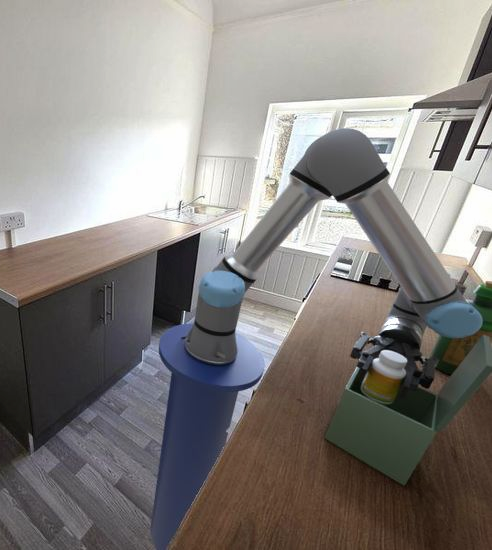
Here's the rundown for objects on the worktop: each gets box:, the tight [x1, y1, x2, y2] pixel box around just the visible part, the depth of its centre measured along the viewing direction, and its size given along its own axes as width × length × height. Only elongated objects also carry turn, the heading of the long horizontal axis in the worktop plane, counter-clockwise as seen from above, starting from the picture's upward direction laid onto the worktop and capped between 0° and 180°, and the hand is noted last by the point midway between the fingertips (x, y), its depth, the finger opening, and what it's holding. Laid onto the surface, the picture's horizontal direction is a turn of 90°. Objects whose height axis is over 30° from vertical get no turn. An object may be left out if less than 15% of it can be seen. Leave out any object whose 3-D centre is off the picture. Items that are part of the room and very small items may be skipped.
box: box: [324, 366, 438, 487], centre depth 61 cm, size 13×13×14 cm
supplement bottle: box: [361, 350, 407, 404], centre depth 59 cm, size 5×5×10 cm
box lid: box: [435, 335, 492, 433], centre depth 51 cm, size 14×13×1 cm
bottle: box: [428, 280, 492, 376], centre depth 84 cm, size 11×11×28 cm
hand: (382, 383), depth 55 cm, fingers closed on supplement bottle, 5 cm apart
